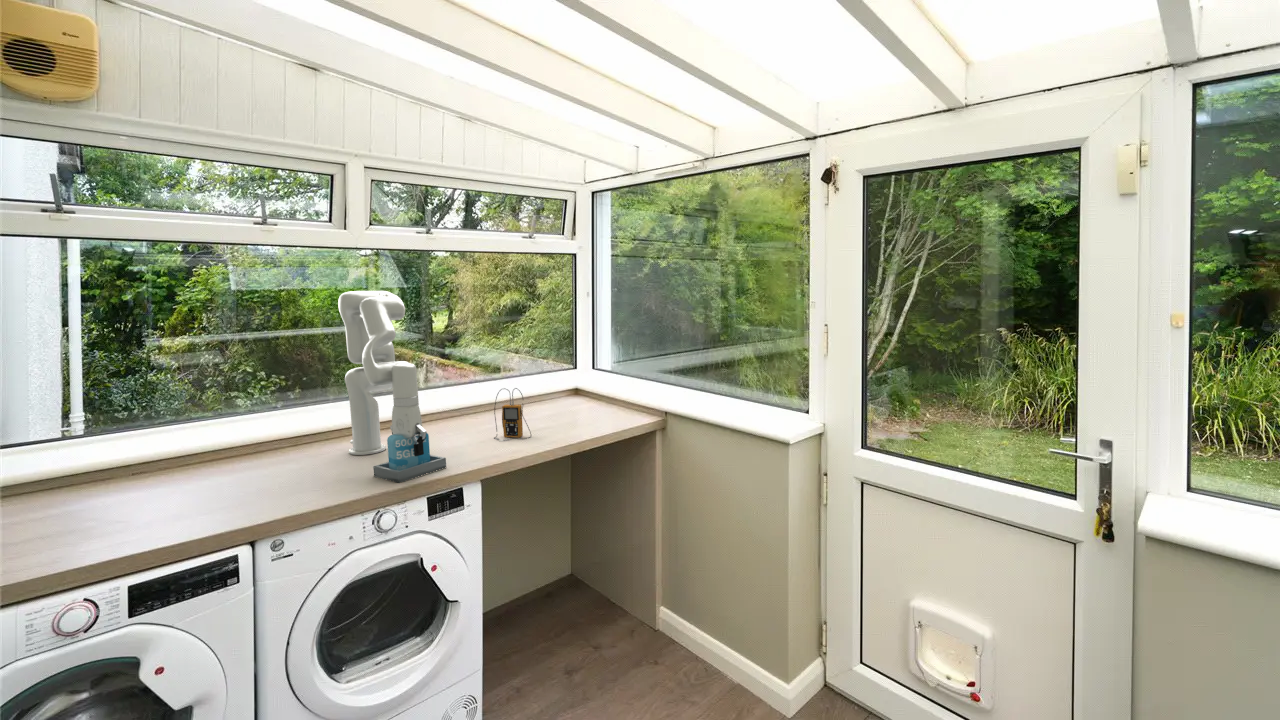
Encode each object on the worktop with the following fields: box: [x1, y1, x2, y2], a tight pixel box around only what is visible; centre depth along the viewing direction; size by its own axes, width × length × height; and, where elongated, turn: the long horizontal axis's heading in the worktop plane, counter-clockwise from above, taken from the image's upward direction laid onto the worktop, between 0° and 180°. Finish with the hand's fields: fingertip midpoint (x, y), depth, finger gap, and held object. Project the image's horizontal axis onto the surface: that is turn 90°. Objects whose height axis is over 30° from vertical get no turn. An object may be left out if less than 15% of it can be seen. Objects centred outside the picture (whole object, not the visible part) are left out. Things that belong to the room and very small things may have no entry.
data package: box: [386, 432, 431, 471], centre depth 194 cm, size 12×4×12 cm, turn 134°
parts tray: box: [372, 454, 447, 484], centre depth 194 cm, size 13×18×4 cm
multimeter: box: [493, 387, 532, 442], centre depth 235 cm, size 15×10×20 cm
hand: (409, 453), depth 194 cm, fingers open, 9 cm apart
